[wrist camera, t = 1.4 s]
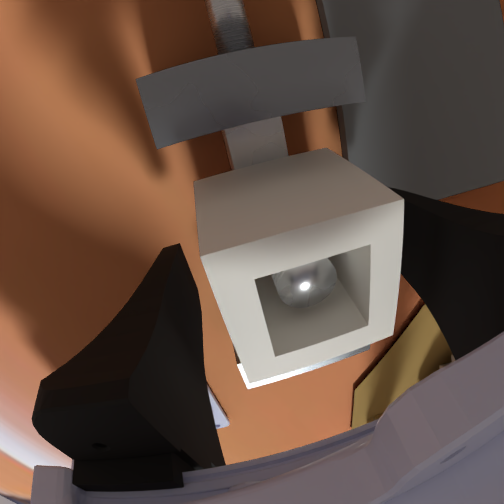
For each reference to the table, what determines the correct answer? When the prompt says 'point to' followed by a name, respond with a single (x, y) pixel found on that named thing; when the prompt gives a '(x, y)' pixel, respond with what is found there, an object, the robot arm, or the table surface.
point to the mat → (424, 92)
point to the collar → (300, 257)
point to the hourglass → (402, 368)
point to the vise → (256, 115)
